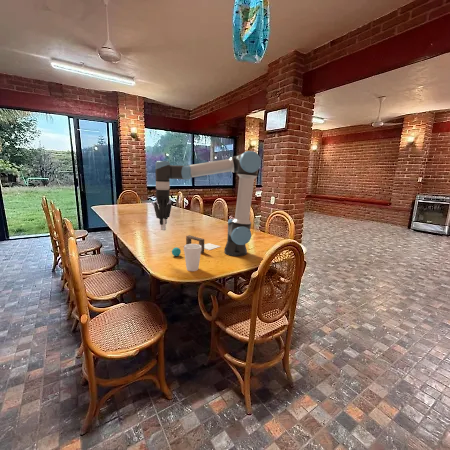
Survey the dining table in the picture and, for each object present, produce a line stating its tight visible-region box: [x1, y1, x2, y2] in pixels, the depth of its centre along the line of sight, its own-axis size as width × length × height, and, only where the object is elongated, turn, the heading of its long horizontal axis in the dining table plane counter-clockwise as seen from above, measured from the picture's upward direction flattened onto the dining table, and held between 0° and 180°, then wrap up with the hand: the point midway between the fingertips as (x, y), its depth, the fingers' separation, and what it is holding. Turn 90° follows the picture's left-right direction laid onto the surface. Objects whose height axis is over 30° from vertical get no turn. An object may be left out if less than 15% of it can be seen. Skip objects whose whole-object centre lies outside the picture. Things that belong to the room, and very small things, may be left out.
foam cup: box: [183, 243, 202, 272], centre depth 132 cm, size 10×9×13 cm
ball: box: [171, 246, 181, 257], centre depth 153 cm, size 6×6×6 cm
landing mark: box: [204, 242, 222, 251], centre depth 176 cm, size 12×12×1 cm
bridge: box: [185, 234, 205, 254], centre depth 165 cm, size 3×14×9 cm, turn 50°
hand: (163, 229), depth 143 cm, fingers closed
